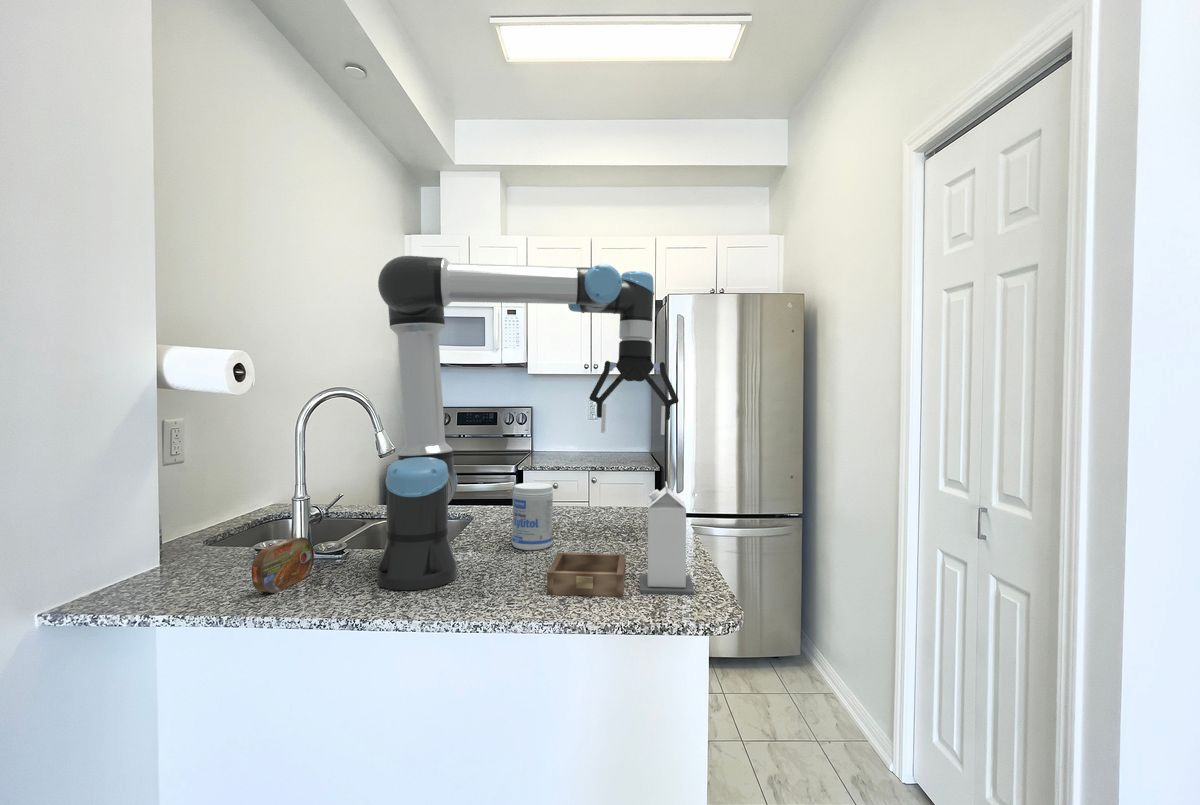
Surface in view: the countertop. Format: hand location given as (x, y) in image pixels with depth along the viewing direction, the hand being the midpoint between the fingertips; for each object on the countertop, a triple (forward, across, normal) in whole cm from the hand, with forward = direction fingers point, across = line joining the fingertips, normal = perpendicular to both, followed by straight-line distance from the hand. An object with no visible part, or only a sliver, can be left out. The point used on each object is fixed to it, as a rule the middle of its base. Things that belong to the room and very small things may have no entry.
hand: (632, 433), depth 139 cm
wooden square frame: (+28, +7, +22) cm, 36 cm away
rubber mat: (+28, -8, +22) cm, 36 cm away
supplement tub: (+28, +23, -5) cm, 37 cm away
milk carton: (+27, -8, +22) cm, 36 cm away
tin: (+30, +65, +28) cm, 77 cm away
